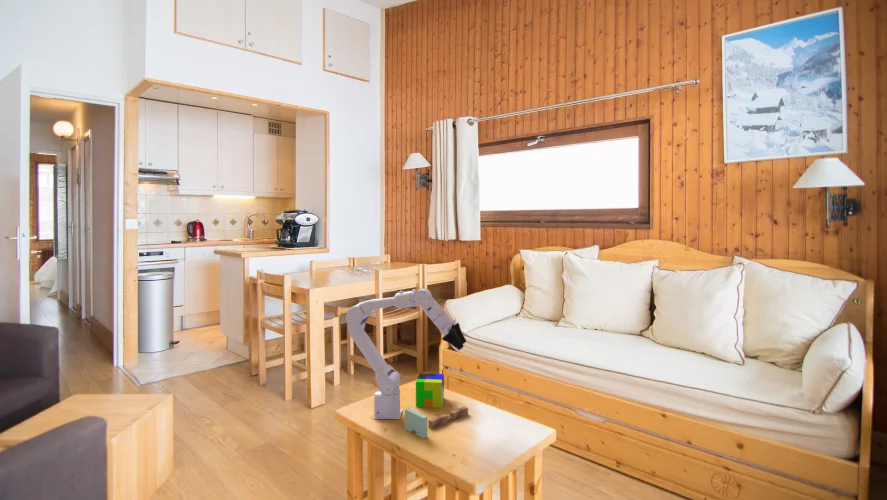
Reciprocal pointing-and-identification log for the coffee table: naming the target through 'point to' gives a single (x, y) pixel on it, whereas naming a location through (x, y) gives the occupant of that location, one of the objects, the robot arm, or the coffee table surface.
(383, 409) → the robot arm
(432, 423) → the walnut rail
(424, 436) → the teal plate
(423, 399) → the puzzle toy
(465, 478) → the coffee table surface
